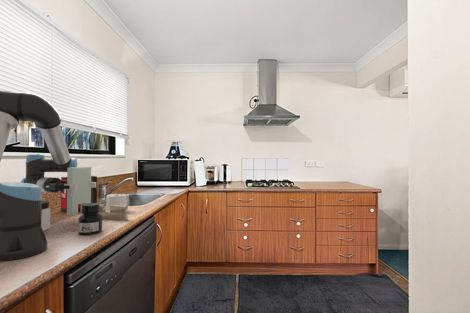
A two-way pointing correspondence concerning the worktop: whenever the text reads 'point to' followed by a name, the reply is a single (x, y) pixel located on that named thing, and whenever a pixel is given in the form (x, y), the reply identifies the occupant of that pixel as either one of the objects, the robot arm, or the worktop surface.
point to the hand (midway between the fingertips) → (86, 186)
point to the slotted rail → (114, 212)
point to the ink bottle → (90, 219)
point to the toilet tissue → (115, 200)
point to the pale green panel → (78, 188)
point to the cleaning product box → (64, 204)
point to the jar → (45, 215)
